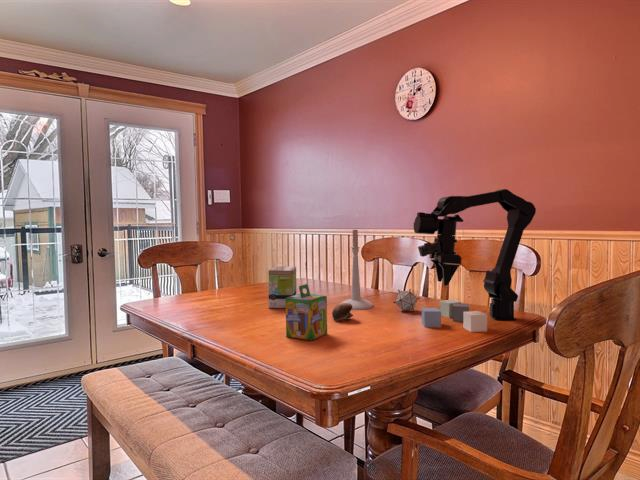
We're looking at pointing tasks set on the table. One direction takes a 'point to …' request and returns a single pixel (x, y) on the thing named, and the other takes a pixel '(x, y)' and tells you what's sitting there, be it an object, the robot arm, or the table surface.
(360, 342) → the table surface
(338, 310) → the mushroom
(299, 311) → the chalk box
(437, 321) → the slate blue cube
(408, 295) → the game die
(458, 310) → the charcoal cube
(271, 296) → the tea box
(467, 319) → the cream cube
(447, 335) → the table surface
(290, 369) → the table surface
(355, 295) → the candlestick
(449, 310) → the sage cube
